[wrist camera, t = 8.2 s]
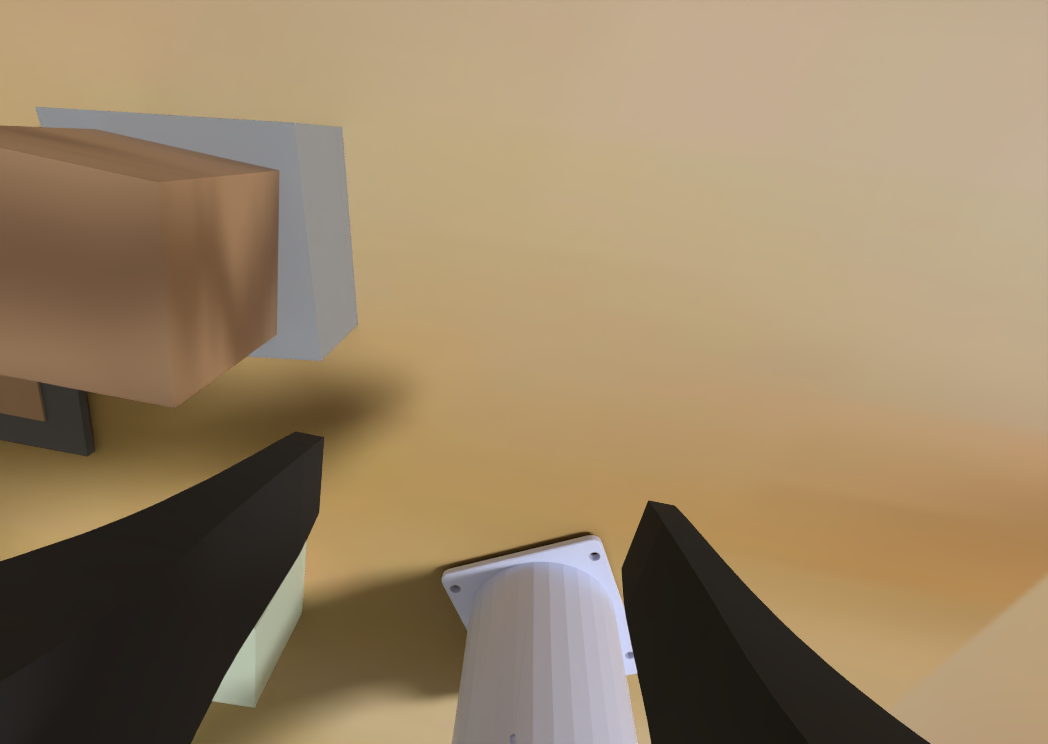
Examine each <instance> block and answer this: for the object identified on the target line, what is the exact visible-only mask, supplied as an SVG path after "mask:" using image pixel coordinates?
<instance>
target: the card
mask: <svg viewBox="0 0 1048 744" xmlns="http://www.w3.org/2000/svg"><path fill="white" fill-rule="evenodd" d="M0 440H4V441H9V442H14V443H20V444H25V445H30V446H35V447H41V448H46V449H51V450H56V451H62V452H67V453H72V454H77V455H83V456H89V455H90V454H92V453H93V452H95V450H94V443H93V436H92V429H91V422H90V415H89V408H88V401H87V394H86V391H83V390H78V389H72V388H67V387H62V386H57V385H52V384H47V383H41V382H36V381H31V380H26V379H21V378H16V377H10V376H5V375H0Z"/></svg>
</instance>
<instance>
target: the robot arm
mask: <svg viewBox="0 0 1048 744" xmlns="http://www.w3.org/2000/svg"><path fill="white" fill-rule="evenodd" d="M323 447H324V437H320V436H315V435H310V434H305V433H299V432H294V433H292V434H290V435H288V436H286V437H284V438H283V439H281V440H279V441H277V442H275V443H274V444H272V445H270V446H268V447H266V448H265V449H263V450H261V451H259V452H257V453H256V454H254V455H252V456H250V457H248V458H247V459H245V460H243V461H241V462H239V463H237V464H235V465H234V466H232V467H230V468H228V469H226V470H224V471H222V472H221V473H219V474H217V475H215V476H213V477H211V478H209V479H207V480H205V481H203V482H201V483H199V484H197V485H195V486H193V487H191V488H189V489H186V490H184V491H182V492H180V493H178V494H176V495H174V496H172V497H170V498H168V499H166V500H164V501H162V502H160V503H157V504H155V505H153V506H151V507H148V508H146V509H144V510H141V511H139V512H137V513H134V514H132V515H130V516H127V517H125V518H122V519H120V520H117V521H115V522H112V523H110V524H107V525H104V526H102V527H99V528H97V529H94V530H92V531H89V532H86V533H84V534H81V535H78V536H75V537H72V538H69V539H66V540H63V541H60V542H57V543H54V544H51V545H48V546H45V547H42V548H39V549H36V550H34V551H31V552H28V553H25V554H22V555H19V556H16V557H13V558H10V559H6V560H3V561H0V744H191V742H192V740H193V738H194V736H195V733H196V731H197V729H198V727H199V726H200V724H201V722H202V720H203V718H204V716H205V714H206V712H207V710H208V708H209V706H210V704H211V702H212V700H213V698H214V696H215V694H216V692H217V690H218V688H219V686H220V684H221V682H222V680H223V678H224V677H225V675H226V673H227V671H228V670H229V668H230V666H231V664H232V663H233V661H234V659H235V657H236V656H237V654H238V652H239V651H240V649H241V647H242V646H243V644H244V643H245V641H246V640H247V638H248V636H249V635H250V633H251V632H252V630H253V628H254V627H255V625H256V624H257V622H258V620H259V619H260V617H261V616H262V614H263V613H264V611H265V609H266V608H267V606H268V605H269V603H270V601H271V600H272V598H273V597H274V595H275V594H276V592H277V590H278V589H279V587H280V586H281V584H282V582H283V581H284V579H285V577H286V576H287V574H288V573H289V571H290V569H291V568H292V566H293V565H294V563H295V561H296V560H297V558H298V556H299V555H300V553H301V551H302V548H303V546H304V544H305V542H306V540H307V538H308V536H309V534H310V532H311V529H312V527H313V525H314V523H315V521H316V518H317V516H318V514H319V506H320V491H321V477H322V462H323ZM593 552H597V554H595V555H592V554H591V553H593ZM441 581H442V584H443V586H444V588H445V590H446V592H447V594H448V595H449V597H450V599H451V601H452V603H453V605H454V607H455V609H456V611H457V613H458V614H459V616H460V618H461V620H462V622H463V624H464V626H465V628H466V630H467V631H468V632H467V639H466V646H465V653H464V660H463V667H462V674H461V682H460V689H459V696H458V703H457V710H456V717H455V724H454V731H453V738H452V744H638V742H637V736H636V730H635V725H634V719H633V713H632V707H631V701H630V695H629V689H628V683H627V678H626V675H631V674H636V673H637V674H638V678H639V683H640V688H641V692H642V697H643V702H644V706H645V711H646V716H647V721H648V727H649V732H650V738H651V744H930V743H929V742H927V741H926V740H924V739H923V738H922V737H920V736H919V735H917V734H916V733H915V732H913V731H912V730H911V729H909V728H908V727H907V726H905V725H904V724H903V723H901V722H900V721H899V720H897V719H896V718H895V717H893V716H892V715H891V714H889V713H888V712H887V711H885V710H884V709H883V708H882V707H880V706H879V705H878V704H877V703H875V702H874V701H873V700H872V699H870V698H869V697H868V696H866V695H865V694H864V693H863V692H861V691H860V690H859V689H858V688H856V687H855V686H854V685H853V684H851V683H850V682H849V681H848V680H846V679H845V678H844V677H843V676H842V675H840V674H839V673H838V672H837V671H836V670H835V669H833V668H832V667H831V666H830V665H829V664H827V663H826V662H825V661H824V660H823V659H822V658H821V657H820V656H819V655H817V654H816V653H815V652H814V651H813V650H812V649H811V648H810V647H809V646H807V645H806V644H805V643H804V642H803V641H802V640H801V639H800V638H798V637H797V636H796V635H795V634H794V633H793V632H792V631H791V630H790V629H789V628H788V627H787V626H786V625H785V624H784V623H783V622H782V621H781V620H780V619H779V618H778V617H777V616H776V615H775V614H774V613H773V612H772V611H771V610H770V609H769V608H768V607H767V606H766V605H765V604H764V603H763V602H762V601H761V600H760V599H759V598H758V597H757V596H756V595H755V594H754V593H753V592H752V591H751V590H750V589H749V588H748V587H747V586H746V584H745V583H744V582H743V581H742V580H741V579H740V578H739V577H738V576H737V575H736V574H735V573H734V571H733V570H732V569H731V568H730V567H729V566H728V565H727V564H726V563H725V561H724V560H723V559H722V558H721V557H720V556H719V555H718V553H717V552H716V551H715V550H714V549H713V548H712V547H711V545H710V544H709V543H708V542H707V541H706V540H705V539H704V537H703V536H702V535H701V534H700V533H699V532H698V531H697V529H696V528H695V527H694V526H693V525H692V524H691V523H690V521H689V520H688V519H687V518H686V517H685V516H684V515H683V514H682V513H681V512H680V511H679V510H678V509H677V507H676V506H674V505H669V504H664V503H658V502H653V501H648V503H647V505H646V508H645V510H644V513H643V516H642V518H641V521H640V523H639V526H638V528H637V531H636V533H635V536H634V538H633V541H632V543H631V546H630V549H629V551H628V554H627V556H626V559H625V561H624V564H623V566H622V583H623V596H624V605H623V602H622V599H621V596H620V593H619V590H618V588H617V585H616V582H615V579H614V576H613V573H612V570H611V567H610V564H609V562H608V559H607V556H606V553H605V550H604V547H603V544H602V541H601V540H600V538H599V537H597V536H594V535H588V536H583V537H579V538H575V539H571V540H567V541H563V542H558V543H554V544H550V545H546V546H542V547H538V548H534V549H529V550H525V551H521V552H517V553H513V554H509V555H504V556H500V557H496V558H492V559H488V560H484V561H480V562H475V563H471V564H467V565H463V566H459V567H455V568H450V569H447V570H445V571H444V572H443V575H442V580H441ZM453 585H457V586H459V587H455V586H453ZM624 607H625V608H624Z"/></svg>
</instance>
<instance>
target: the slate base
mask: <svg viewBox="0 0 1048 744" xmlns="http://www.w3.org/2000/svg"><path fill="white" fill-rule="evenodd" d="M36 111H37V114H38V117H39V121H40V124H41V127H51V128H79V129H97V130H102V131H106V132H111V133H115V134H120V135H124V136H129V137H133V138H138V139H142V140H146V141H151V142H155V143H160V144H164V145H169V146H173V147H178V148H182V149H186V150H191V151H195V152H200V153H204V154H209V155H213V156H218V157H222V158H227V159H231V160H235V161H240V162H244V163H249V164H253V165H258V166H262V167H267V168H271V169H275V170H279V231H278V296H277V335H276V336H274V337H273V338H271V339H270V340H269V341H267V342H266V343H265V344H263V345H262V346H260V347H259V348H258V349H256V350H255V351H254V352H252V353H251V354H249V355H248V356H249V357H265V358H281V359H298V360H314V361H322V360H323V359H324V358H325V357H326V356H327V355H328V354H329V353H330V352H331V351H332V350H333V349H334V348H335V347H336V346H337V345H338V344H339V343H340V342H341V341H342V340H343V339H344V338H345V337H346V336H347V335H348V334H349V333H350V332H351V331H352V330H353V329H354V328H355V327H356V326H357V325H358V320H357V307H356V294H355V282H354V269H353V257H352V244H351V232H350V219H349V206H348V194H347V181H346V169H345V156H344V144H343V131H342V127H332V126H322V125H311V124H300V123H287V122H271V121H255V120H239V119H223V118H207V117H191V116H175V115H159V114H143V113H127V112H111V111H95V110H79V109H63V108H47V107H36Z"/></svg>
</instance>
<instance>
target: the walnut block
mask: <svg viewBox="0 0 1048 744" xmlns="http://www.w3.org/2000/svg"><path fill="white" fill-rule="evenodd" d="M278 231H279V170H275V169H271V168H267V167H262V166H258V165H253V164H249V163H244V162H240V161H235V160H231V159H227V158H222V157H218V156H213V155H209V154H204V153H200V152H195V151H191V150H186V149H182V148H178V147H173V146H169V145H164V144H160V143H155V142H151V141H146V140H142V139H138V138H133V137H129V136H124V135H120V134H115V133H111V132H106V131H102V130H97V129H79V128H51V127H23V126H0V375H5V376H10V377H16V378H21V379H26V380H31V381H36V382H41V383H47V384H52V385H57V386H62V387H67V388H72V389H78V390H83V391H88V392H93V393H98V394H103V395H109V396H114V397H119V398H124V399H129V400H135V401H140V402H145V403H150V404H155V405H160V406H166V407H171V408H176V407H178V406H179V405H181V404H182V403H183V402H185V401H186V400H187V399H189V398H190V397H192V396H193V395H194V394H196V393H197V392H198V391H200V390H201V389H203V388H204V387H205V386H207V385H208V384H209V383H211V382H212V381H214V380H215V379H216V378H218V377H219V376H221V375H222V374H223V373H225V372H226V371H227V370H229V369H230V368H232V367H233V366H234V365H236V364H237V363H238V362H240V361H241V360H243V359H244V358H245V357H247V356H248V355H249V354H251V353H252V352H254V351H255V350H256V349H258V348H259V347H260V346H262V345H263V344H265V343H266V342H267V341H269V340H270V339H271V338H273V337H274V336H276V335H277V296H278Z"/></svg>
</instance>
